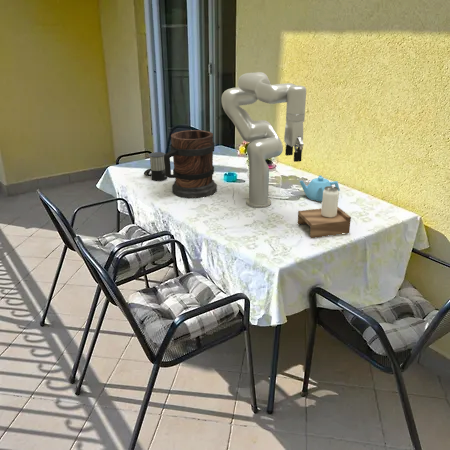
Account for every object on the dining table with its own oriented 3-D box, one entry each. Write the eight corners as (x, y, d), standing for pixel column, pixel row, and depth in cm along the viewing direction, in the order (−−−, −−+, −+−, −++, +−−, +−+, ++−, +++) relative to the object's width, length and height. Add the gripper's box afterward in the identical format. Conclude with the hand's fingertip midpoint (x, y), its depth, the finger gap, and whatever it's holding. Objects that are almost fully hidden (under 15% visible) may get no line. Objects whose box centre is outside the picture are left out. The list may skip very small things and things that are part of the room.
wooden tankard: (225, 190, 230) (225, 134, 217) (183, 205, 211) (179, 145, 199) (196, 180, 245) (194, 127, 233) (154, 193, 227) (149, 137, 214)
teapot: (318, 205, 209) (320, 184, 204) (297, 196, 220) (298, 176, 216) (340, 198, 216) (342, 178, 212) (319, 190, 228) (320, 170, 223)
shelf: (297, 223, 190) (298, 207, 187) (332, 219, 193) (334, 204, 190) (311, 238, 176) (312, 221, 173) (349, 233, 180) (350, 217, 177)
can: (325, 210, 187) (327, 184, 182) (339, 214, 183) (342, 187, 178) (318, 215, 182) (320, 188, 177) (332, 219, 179) (335, 192, 174)
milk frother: (164, 182, 243) (162, 156, 237) (137, 180, 246) (135, 155, 240) (171, 174, 256) (170, 150, 250) (146, 173, 259) (144, 149, 253)
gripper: (279, 114, 182) (277, 153, 189) (294, 122, 167) (292, 164, 174) (296, 113, 184) (293, 152, 191) (312, 120, 168) (309, 163, 175)
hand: (293, 158), depth 182 cm, fingers open, 9 cm apart
